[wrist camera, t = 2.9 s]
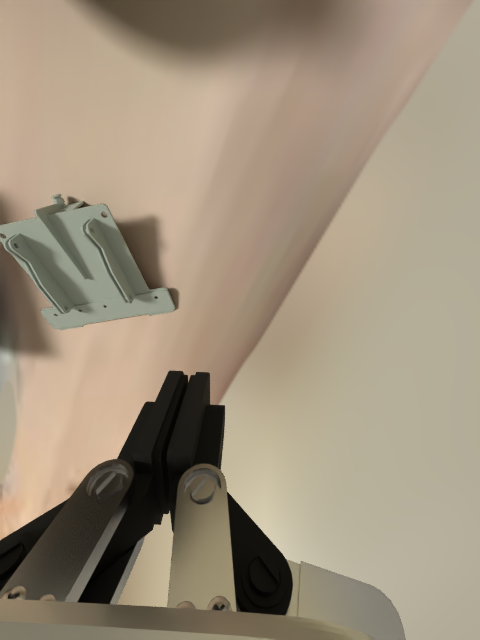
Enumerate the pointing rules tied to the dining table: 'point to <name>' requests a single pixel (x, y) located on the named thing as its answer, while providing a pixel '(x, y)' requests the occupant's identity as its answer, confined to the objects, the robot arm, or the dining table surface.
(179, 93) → the dining table surface
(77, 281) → the metal bracket
